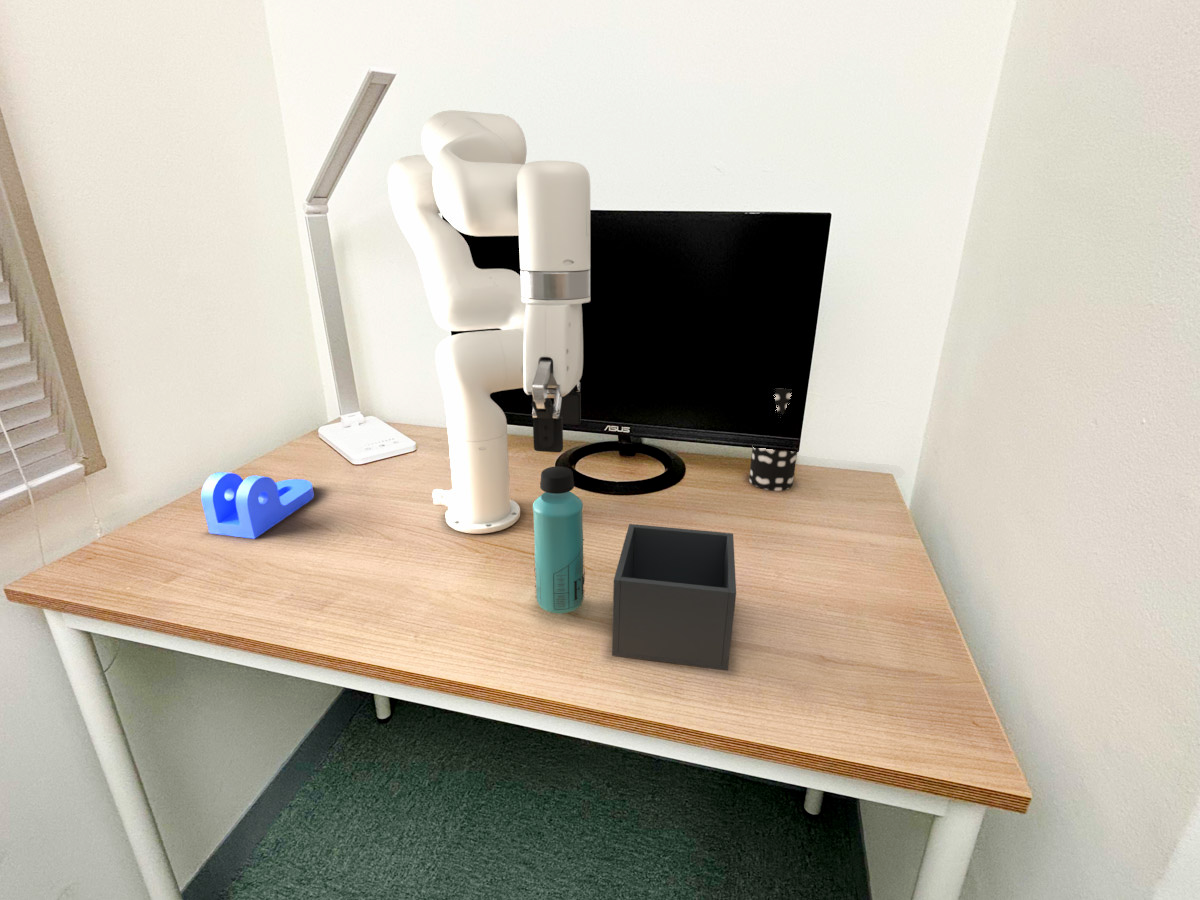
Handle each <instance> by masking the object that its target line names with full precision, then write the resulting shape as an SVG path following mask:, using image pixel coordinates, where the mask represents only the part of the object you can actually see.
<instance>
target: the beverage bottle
mask: <svg viewBox="0 0 1200 900" xmlns="http://www.w3.org/2000/svg"><path fill="white" fill-rule="evenodd" d="M573 473H574V472H573V470H572V469H571V468H569V467H566V466H559V465H558V466H557V465H556V466H549V467H547V468H545V469H543V470H542V471H541V473H540V483H539V487H540V490H541V491H543V493H542V494H541V495H539V496H538V497H537V498H536V499H535V500H534V501H533V503H532V511H533V536H534V537H533V538H534V545H533V546H534V548H533V549H532V550H533V551H534V552H533V555H532V556H534V558H533V561H534V562H533V564H534V568H533V569H534V570H533V573H534V574H533V575H534V576H533V577H534V581H535V584H534V588H535V590H534V592H535V598H536V601H537V602H536V603H538V606H539V608H541V609H542V610H543V611H546V612H548V613H551V614H567V613H571V612H574V611H576V610H577V609H579V608H580V607H581V606H582V604H583V601H584V599H585V595H586V594H585V592H586V591H585V590H586V589H585V573H586V572H585V571H586V569H585V560H584V559H585V556H584V546H585V545H584V544H585V543H584V541H585V538H584V530H585V529H584V525H583V522H584V520H583V517H584V516H583V509H584V504H583V501H582V499H581V498H580V497H579V496H578V495H576V494H575V493H573V492H572V490H574V488H575V481H574V474H573Z"/></svg>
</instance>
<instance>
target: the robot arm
mask: <svg viewBox="0 0 1200 900" xmlns="http://www.w3.org/2000/svg"><path fill="white" fill-rule="evenodd" d="M420 140H421V141H420V143H421V148H422V150H423V153H424V154H413V155H412V154H411V155H407V156H403V157H400V158H399V159H397V160H395V161H394V162H393V163H392V164H391V166H390V168H389V171H388V174H387V187H388V195H389V200H390V204H391V208H392V211H393V214H394V217H395V220H396V222H397V224H398V226H399V228H400V230H401V232H402V233H403V235H404V237H405V238H406V240H407V242H408V244H409V245H410V247H411V249H412V251H413V252H414V254H415V257H416V260H417V262H418V267H419V270H420V275H421V279H422V283H423V285H424V290H425V293H426V297H427V300H428V304H429V308H430V310H431V314H432V316H433V319H434V321H435V322H436V325H438V326H439V328H441V329H443V330H445V331H450V332H461V333H456V334H452V335H450V336H447V337H446V338H444V339H443V340H441V341H440V342H439V344H438V345H437V347H436V349H435V354H434V359H435V367H436V373H437V375H438V380H439V384H440V387H441V392H442V397H443V402H444V409H445V416H446V418H445V419H446V427H447V438H448V449H449V450H448V451H449V462H450V476H451V485H452V486H451V487H452V488H451V489H442V488H434V489H432V493H431V498H432V505H434V506H439V507H440V506H445V507H446V508H447V509H446V511H445V523H446V524H447V526H449V527H450V528H451V529H452V530H455V531H457V532H460V533H465V534H473V535H474V534H475V535H476V534H477V535H478V534H479V535H482V534H483V535H484V534H490V533H496V532H500V531H503V530H506V529H508V528H509V527H511V526H513V525H514V524H516V523H517V522H518V520H519V519H520V517H521V507H520V505H519V504H518V503H517V501H515V500H514V499H511V483H510V459H509V458H510V457H509V438H508V422H507V417H506V414H505V412H504V411H503V409H502V408H501V407H500V406H499V405H498V403H496V402H495V401H494V400H493V399H492V398H491V395H492V394H493V393H497V392H501V391H502V392H503V391H509V390H516V389H517V390H518V389H523V391H524V393H525V394H526V395H527V396H531V395H532V400H531V401H532V402H531V406H532V412H531V416H532V434H533V435H532V437H533V438H532V439H533V449H534V451H536V452H545V453H546V452H547V453H561V452H562V451H563V450H564V428H563V427H564V426H563V425H570V426H571V425H573V426H578V425H580V424H581V421H582V401H581V400H582V397H581V396H582V393H581V382H580V381H581V379H582V376H583V370H584V327H583V326H584V325H583V324H584V323H583V307H582V306H583V305H582V304H587V303H590V302H591V176H590V173H589V170H588V169H587V167H585V166H584V164H581V163H579V162H575V161H569V160H535V161H528V162H526V161H527V155H528V154H527V151H528V149H527V141H526V137H525V134H524V131H523V129H522V128H521V126H520V124H519V123H518V122H517V121H516V120H515V119H514V118H513V117H510V116H508V115H505V114H501V113H489V112H481V111H480V112H478V111H468V110H467V111H466V110H453V109H451V110H442V111H439V112H437V113H435V114H433V115H432V116H431V117H429V118H428V119H427V120H426V122H425V124H423V127H422V131H421V136H420ZM440 214H441V215H442V216H443V218H444V219H445V220H444V219H443V218H442V217H441V215H440ZM460 233H461V234H460ZM462 234H464V235H468V236H471V237H472V236H473V237H514V236H515V237H517V236H518V248H519V250H518V251H519V252H518V253H519V269H520V271H519V273H520V274H519V273H517V272H516V271H514V270H512V269H508V268H479V267H477V266H476V265H475V263H474V260H473V257H472V253H471V250H470V246H469V245H468V243H467V241H466V240H465V238H464V237H463V236H462ZM552 399H553V401H552Z"/></svg>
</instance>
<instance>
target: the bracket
mask: <svg viewBox="0 0 1200 900" xmlns="http://www.w3.org/2000/svg"><path fill="white" fill-rule="evenodd" d="M313 488H314V487H313V483H312V482H311V481H309V480H306V479H301V478H291V479H284V480H280V481H276V482H275V480H274V479H272V478H271V477H269V476H264V475H263V476H261V475H250V476H248V477H246V478H244V479H243V478H242V477H241V476H240V475H239V474H237V473H233V472H226V471H225V472H224V471H219V472H215V473H213V474H210V476H209V477H208V478H207V479H206V480H205V482H204V483H203V485H202V489H201V494H200V499H201V505H202V509H203V512H204V516H205V520H206V525H207V528H208V533H209V534H211V535H212V534H213V535H221V536H229V537H238V538H245V539H252V540H255V539H257V538H258V537H260V536H261V535H263V534H264V533H265V532H266V531H268V530H269V529H271V528H273V527H274V526H275V525H277V524H279V523H280V522H281V521H283V520H285V519H286V518H287V517H289V516H290V515H293V513H294V512H296V511H298V510H299V509H300V508H302V507H303V506H305V505H306V504H308V503H309V502H311V501H312V500H313V499H314V498H315V497H314V496H315V494H314V493H315V492H314V489H313Z"/></svg>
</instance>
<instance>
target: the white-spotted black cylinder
mask: <svg viewBox="0 0 1200 900" xmlns="http://www.w3.org/2000/svg"><path fill="white" fill-rule="evenodd" d="M775 389H776V390H775ZM775 389H774V390H775V391H776V392H775V391H774V392H775V394H774V395H775V396H776V397H775V396H774V395H773V396H774V397H775V398H774V399H775V404H776V408H777V409H776V410H777V413H778V412H779V413H780V412H781V413H780V414H782V415H783V414H784V413H785V412H786V411H785V410H786V408H787V404H788V403H789V402H790V401H789V400H790V399H791V398H790V397H791V396H792V395H791V394H792V392H791V391H792V389H786V388H785V389H784V388H775ZM790 392H791V393H790ZM788 401H789V402H788ZM777 404H778V405H777ZM789 404H790V403H789ZM789 404H788V405H789ZM777 406H778V407H777ZM776 410H775V411H776ZM784 411H785V412H784ZM775 413H776V412H775ZM779 413H778V414H779ZM778 416H779V415H778ZM780 416H781V415H780ZM780 418H781V417H780ZM797 456H798V451H797V452H792V451H784V450H773V449H766V448H754V447H753V446H752V448H751V457H750V467H749V475H748V476H749V477H748V481H749V483H750V484H752V486H754V487H757V488H759V489H761V490H766V491H776V492H781V491H786V490H789V489H791V488H792V487H793V485H794V478H795V471H796V463H797V458H798V457H797Z"/></svg>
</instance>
